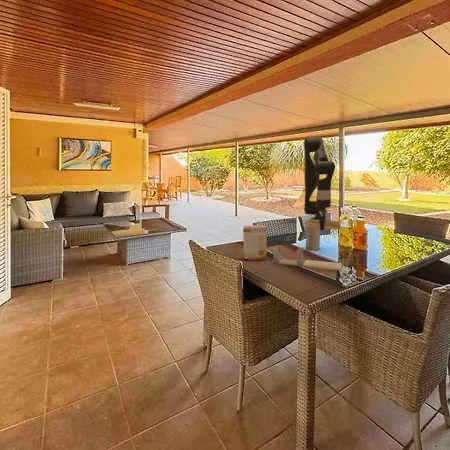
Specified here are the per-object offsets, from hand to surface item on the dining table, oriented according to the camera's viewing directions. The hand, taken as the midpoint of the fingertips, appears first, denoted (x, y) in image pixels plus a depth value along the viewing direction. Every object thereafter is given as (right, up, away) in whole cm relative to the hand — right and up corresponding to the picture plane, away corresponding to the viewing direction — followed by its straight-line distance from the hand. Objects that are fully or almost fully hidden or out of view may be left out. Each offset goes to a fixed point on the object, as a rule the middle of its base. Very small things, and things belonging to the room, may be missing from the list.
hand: (322, 229), depth 167 cm
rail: (0, +1, 0) cm, 1 cm away
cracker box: (-36, -19, +21) cm, 45 cm away
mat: (+1, -21, +4) cm, 21 cm away
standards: (-17, -20, +11) cm, 28 cm away
